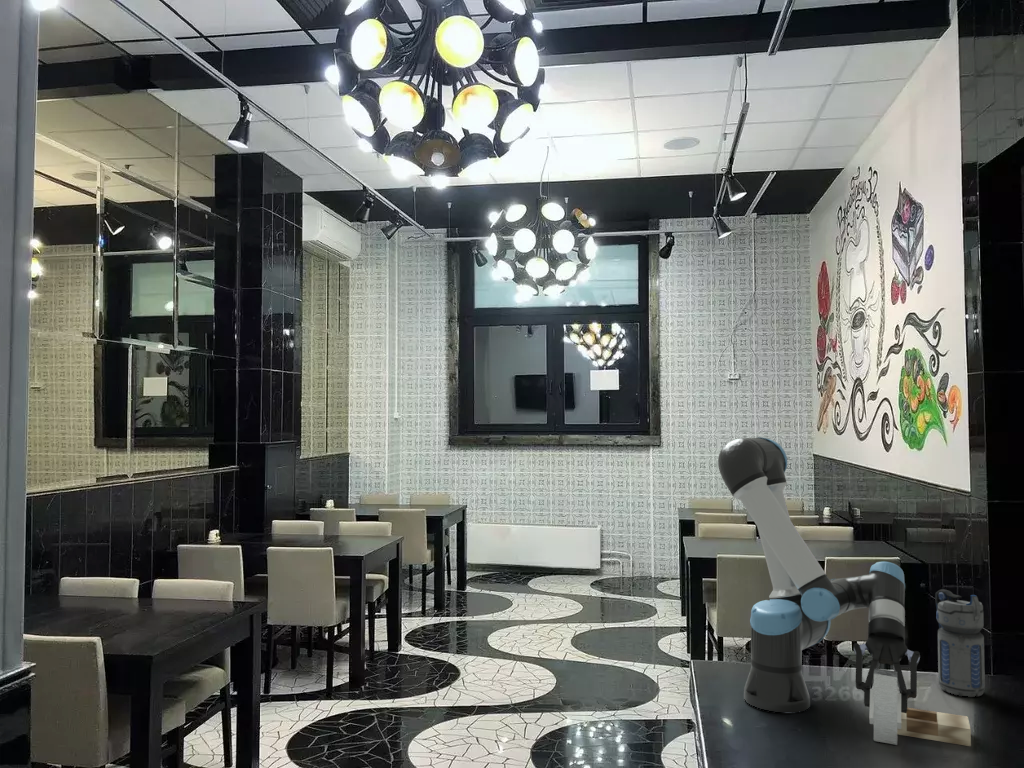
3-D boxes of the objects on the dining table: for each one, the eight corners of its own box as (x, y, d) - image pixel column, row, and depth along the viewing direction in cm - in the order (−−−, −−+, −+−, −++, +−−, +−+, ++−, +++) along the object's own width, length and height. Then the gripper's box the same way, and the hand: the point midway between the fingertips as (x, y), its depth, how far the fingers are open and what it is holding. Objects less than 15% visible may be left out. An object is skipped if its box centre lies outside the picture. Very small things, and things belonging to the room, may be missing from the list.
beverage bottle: (955, 680, 206) (953, 584, 207) (997, 698, 193) (995, 595, 195) (922, 683, 204) (920, 586, 205) (962, 701, 191) (960, 597, 192)
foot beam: (876, 730, 173) (875, 714, 173) (877, 718, 180) (876, 702, 180) (970, 746, 165) (970, 729, 165) (967, 732, 172) (967, 716, 172)
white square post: (873, 740, 167) (873, 673, 167) (874, 733, 170) (874, 668, 171) (897, 744, 165) (897, 677, 165) (897, 737, 168) (897, 671, 169)
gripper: (929, 639, 178) (932, 740, 163) (845, 628, 186) (840, 723, 170) (930, 620, 173) (933, 723, 158) (844, 610, 181) (838, 707, 166)
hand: (885, 723), depth 164 cm, fingers closed on white square post, 4 cm apart
